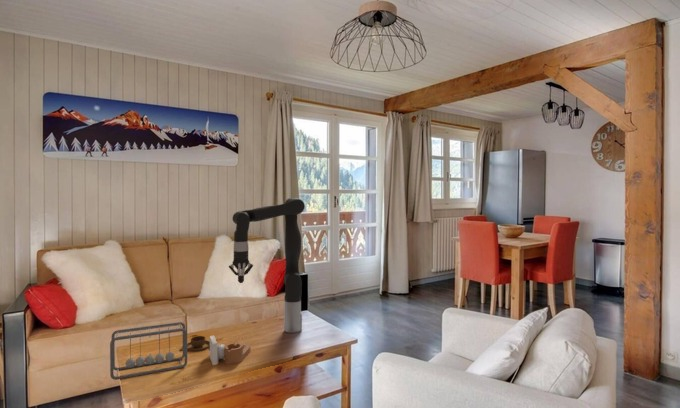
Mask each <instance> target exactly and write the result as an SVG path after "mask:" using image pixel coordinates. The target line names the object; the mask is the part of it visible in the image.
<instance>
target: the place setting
mask: <svg viewBox="0 0 680 408" xmlns="http://www.w3.org/2000/svg"><path fill="white" fill-rule="evenodd" d="M205 344H206V346H205V347H203V346H204V345H205ZM190 346H192V347H193V348H189V347H190ZM207 349H208V351H209V352H210V340H207V339H206V336H204V335H196V336H193V337H191V338H190V341H189V342H187V351H190V352H200V351H204V350H207ZM179 351H182V352H183V345H182V346H181V348H179Z"/></svg>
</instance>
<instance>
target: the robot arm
mask: <svg viewBox="0 0 680 408" xmlns="http://www.w3.org/2000/svg"><path fill="white" fill-rule="evenodd" d="M304 210H305V203H304V201H303V200H302V199H301V198H298V197H297V198H296V197H289V198H287V199H286V200H285V202H284V203H280V204H276V205H275V204H274V205H273V204H272V205H266V206H261V207H256V208H253V209H246V210H240V211H237V212H235V213H234V214H233V215H232V222H233V223H234V224H235V226H236V229H235V231H234V233H233V260H232V263H231V264H230V265H229V264H228V268H229V270H230V271H231V272H232V273H233V274H234V275H235V276H237V281H238V283H239V284H243V283H244V282H245V276H246V275H248V274H249V273H250V271H251V270H252V268H253V267H254V264H252V263H251V262H250V260H249V234H248V233H249V229H250V224H251V222H252V223H253V222H254V223H255V222H261V221H265V220H269V219H272V218H276V217H281V216H284V220H285V221H284V222H285V224H284V225H285V226H284V236H285V237H284V255H285V268H284V269H285V271H284V277H283V281H284V285H285V286H284V287H285V288H284V289H285V290H284V291H285V292H284V294H285V295H284V308H283V309H284V311H283V312H284V317H283V319H284V322H283V323H284V324H283V325H284V326H283V327H284V332H285V333H288V334H296V333H299V332H301V331H303V314H302V313H301V312H302V294H303V293H302V292H303V291H302V288H303V281H302V277H301V276H300V271H299V270H300V265H299V264H300V263H299V262H300V256H301V251H302V236H301V231H300V228H299V224H298V215H300V214H301V213H303V212H304ZM235 268H236V270H237V271H236V270H235Z"/></svg>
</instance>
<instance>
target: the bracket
mask: <svg viewBox="0 0 680 408" xmlns="http://www.w3.org/2000/svg"><path fill="white" fill-rule="evenodd" d="M224 346H225V358H224V363H225V364H228V365H236V364H239V363H242V362H243V361H244V360H245V359H246V357H247V356H248V355H249V354H250V353H251V351H252V349H251V344H248V343H241V342H236V343H235V342H230V343H228V344H226V345H225V344H224Z"/></svg>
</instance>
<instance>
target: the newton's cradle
mask: <svg viewBox="0 0 680 408" xmlns="http://www.w3.org/2000/svg"><path fill="white" fill-rule="evenodd" d="M177 326H179V328H172V329H170V327H177ZM162 328H167V329H166V330H165V329H164V330H161V329H162ZM153 329H158V330H157V331H149V332H144V333H134V334H131V333H133V332H141V331H146V330H153ZM179 332H182V346H183V350H182V355H181V356H180V357H179V356H178V357H175V354H174V352H173V351H171V343H170V342H171V341H170V340H171V339H170V337H171V336H170V335H168V348H169V350H168V352H167V353H166V354H165V355H164V354H163V353H161V341H160V340H161V335H165V334H170V333H179ZM124 333H129V335H128V334H127V335H119V334H124ZM118 335H119V336H118ZM157 335H158V345H159V348H158V350H159V351H158V352H159V353H158V354H156V356H154V355H151V354H149V355H148V356H146V357H144V356H141V352H142V350H141V347H142V346H141V341H142V340H141V339H139V341H140V342H139V353H140V354H139V356H138V357H137V358H136V359H134V358H132V357H131V356H132V351H131V349H132V348H131V347H132V345H131V344H132V341H131V340H132V339H136V338H141V337H142V338H144V337H151V336H157ZM115 336H116V337H115ZM121 340H129V347H130V349H129V350H130V354H129V358H128V359H127V360H126V361H125V366H119V367H116V364H115V363H116V362H115V361H116V357H115V355H116V354H115V353H116V352H115V349H116V348H115V344H116V343H115V342H116V341H121ZM187 344H188V331H187V330H186V325H185V323H184V322H182V321H178V322H172V323H171V322H170V323H164V324H162V323H161V324H155V325H149V326H148V325H147V326H141V327H133V328H126V329H117V330H115V331H113V332H112V334H111V341H110V342H109V353H110V354H109V361H110V362H109V363H110V364H109V365H110V367H109V368H110V369H109V371H110V378H111V379H112V380H115V381H116V380H122V379H127V378H133V377H139V376H145V375H150V374H156V373H161V372H167V371H172V370H177V369H182V368H185V367H186V366H187V364H188V350H187ZM183 359H184V363H183V364H182V360H183ZM175 361H179V362H180V365H176V366H170V367H165V368H159V369H153V370H149V371H142V372H137V373H131V374H125V375H119V371H121V370H128V369H135V368H139V367H145V366H150V365H156V364H165V363H168V362H169V363H170V362H175ZM114 371H117V372H116V376H115V375H114Z"/></svg>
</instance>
